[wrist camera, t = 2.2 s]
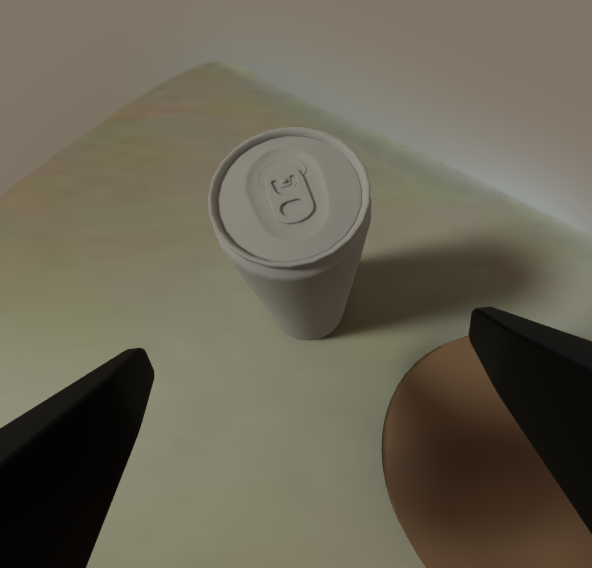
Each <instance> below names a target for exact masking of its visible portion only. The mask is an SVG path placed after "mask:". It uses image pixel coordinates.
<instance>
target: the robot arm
mask: <svg viewBox="0 0 592 568" xmlns="http://www.w3.org/2000/svg"><path fill="white" fill-rule="evenodd" d="M469 340H470V343H471V345H472V347H473V349H474V350H475V352H476V354H477V356H478V358H479V360H480V362H481V364H482V366H483V368H484V370H485V371H486V373H487V375H488V377H489V379H490V381H491V383H492V385H493V386H494V388H495V390H496V392H497V393H498V395H499V397H500V398H501V400H502V401H503V403H504V404H505V406H506V407H507V409H508V410H509V412H510V413H511V415H512V416H513V418H514V419H515V421H516V422H517V424H518V425H519V427H520V428H521V430H522V431H523V433H524V434H525V436H526V437H527V439H528V440H529V442H530V443H531V444H532V446H533V447H534V449H535V450H536V452H537V453H538V455H539V456H540V458H541V459H542V461H543V462H544V464H545V465H546V467H547V468H548V470H549V471H550V473H551V474H552V476H553V477H554V479H555V480H556V482H557V483H558V485H559V486H560V488H561V489H562V491H563V492H564V494H565V495H566V497H567V498H568V500H569V501H570V503H571V504H572V506H573V507H574V509H575V510H576V512H577V513H578V515H579V516H580V518H581V519H582V521H583V522H584V524H585V525H586V527H587V528H588V530H589V531H590V533H591V534H592V342H591V341H589V340H586V339H583V338H580V337H577V336H574V335H571V334H568V333H566V332H563V331H560V330H557V329H554V328H551V327H548V326H545V325H542V324H540V323H537V322H534V321H531V320H528V319H525V318H522V317H519V316H516V315H514V314H511V313H508V312H505V311H502V310H499V309H496V308H493V307H482V308H475V309H474V310H473V311H472V314H471V322H470V329H469ZM153 381H154V370H153V367H152V365H151V363H150V360H149V358H148V356H147V353H146V351H145V350H144V349H142V348H135V349H128V350H125V351H124V352H122V353H121V354H119V355H117V356H116V357H114V358H113V359H111V360H109V361H108V362H106V363H105V364H103V365H101V366H100V367H98V368H97V369H95V370H93V371H92V372H90V373H88V374H87V375H85V376H84V377H82V378H80V379H79V380H77V381H76V382H74V383H72V384H71V385H69V386H68V387H66V388H64V389H63V390H61V391H60V392H58V393H56V394H55V395H53V396H52V397H50V398H48V399H47V400H45V401H44V402H42V403H40V404H39V405H37V406H36V407H34V408H32V409H31V410H29V411H28V412H26V413H24V414H23V415H21V416H20V417H18V418H16V419H15V420H13V421H12V422H10V423H8V424H7V425H5V426H4V427H2V428H0V568H86V566H87V564H88V561H89V559H90V556H91V553H92V551H93V548H94V546H95V543H96V541H97V538H98V536H99V533H100V530H101V528H102V525H103V523H104V520H105V518H106V515H107V513H108V510H109V508H110V505H111V502H112V500H113V497H114V495H115V492H116V490H117V487H118V485H119V482H120V479H121V477H122V474H123V472H124V469H125V467H126V464H127V462H128V459H129V456H130V454H131V451H132V449H133V446H134V444H135V441H136V439H137V436H138V433H139V430H140V427H141V424H142V421H143V417H144V413H145V410H146V406H147V403H148V399H149V395H150V392H151V388H152V385H153Z"/></svg>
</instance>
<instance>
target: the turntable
mask: <svg viewBox="0 0 592 568" xmlns="http://www.w3.org/2000/svg"><path fill="white" fill-rule="evenodd" d="M382 464H383V471H384V477H385V482H386V487H387V490H388V493H389V497H390V500H391V503H392V506H393V508H394V511H395V513H396V515H397V518H398V520H399V522H400V524H401V526H402V528H403V530H404V532H405V533H406V535H407V537H408V539H409V541H410V542H411V544H412V546H413V548H414V549H415V551H416V553H417V555H418V556H419V558H420V559H421V561H422V562H423V564H424V565H425V566H426V568H592V534H591V533H590V531H589V530H588V528H587V527H586V525H585V524H584V522H583V521H582V519H581V518H580V516H579V515H578V513H577V512H576V510H575V509H574V507H573V506H572V504H571V503H570V501H569V500H568V498H567V497H566V495H565V494H564V492H563V491H562V489H561V488H560V486H559V485H558V483H557V482H556V480H555V479H554V477H553V476H552V474H551V473H550V471H549V470H548V468H547V467H546V465H545V464H544V462H543V461H542V459H541V458H540V456H539V455H538V453H537V452H536V450H535V449H534V447H533V446H532V444H531V443H530V442H529V440H528V439H527V437H526V436H525V434H524V433H523V431H522V430H521V428H520V427H519V425H518V424H517V422H516V421H515V419H514V418H513V416H512V415H511V413H510V412H509V410H508V409H507V407H506V406H505V404H504V403H503V401H502V400H501V398H500V397H499V395H498V393H497V392H496V390H495V388H494V386H493V385H492V383H491V381H490V379H489V377H488V375H487V373H486V371H485V370H484V368H483V366H482V364H481V362H480V360H479V358H478V356H477V354H476V352H475V350H474V349H473V347H472V345H471V343H470V340H469V336H466V337H463V338H460V339H458V340H455V341H452V342H450V343H448V344H445V345H443V346H440V347H438V348H436V349H435V350H433V351H431V352H430V353H428V354H426V355H425V356H424V357H423V358H421V359H420V360H419V361H418V362H417V363H415V364H414V365H413V367H412V368H411V369H410V370H409V371H408V372H407V373H406V374H405V376H404V377H403V379H402V380H401V382H400V383H399V385H398V386H397V388H396V390H395V392H394V394H393V396H392V398H391V400H390V403H389V406H388V409H387V412H386V416H385V421H384V426H383V433H382Z"/></svg>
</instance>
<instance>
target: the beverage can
mask: <svg viewBox="0 0 592 568" xmlns="http://www.w3.org/2000/svg"><path fill="white" fill-rule="evenodd" d="M208 202H209V215H210V218H211V220H212V223H213V226H214V231H215V234H216V236H217V239H218V241H219V243H220V246H221V248H222V250H223V251H224V252H225V254H226V255H227V257H228V258H229V259H230V261H231V262H232V264H233V265H234V266H235V268H236V269H237V270H238V272H239V273H240V274H241V276H242V277H243V278H244V280H245V281H246V282H247V284H248V285H249V286H250V287H251V289H252V290H253V291H254V293H255V294H256V295H257V297H258V298H259V299H260V301H261V302H262V303H263V305H264V306H265V308H266V309H267V311H268V312H269V313H270V315H271V316H272V318H273V319H274V320H275V322H276V323H277V324H278V325H279V326H280V328H281V329H282V330H284V331H285V332H286V333H287V334H289V335H290V336H292V337H295V338H297V339H301V340H314V339H320V338H322V337H324V336H326V335H328V334H330V333H331V332H332V331H333V330H334V329H335V328H336V327H337V326H338V324H339V323H340V321H341V319H342V317H343V314H344V311H345V307H346V303H347V300H348V297H349V294H350V291H351V288H352V285H353V282H354V279H355V275H356V272H357V268H358V265H359V261H360V258H361V254H362V250H363V247H364V243H365V239H366V236H367V232H368V228H369V225H370V221H371V197H370V182H369V179H368V175H367V172H366V168H365V166H364V165H363V163H362V162H361V160H360V159H359V157H358V156H357V154H356V153H355V152H354V151H353V150H352V149H351V148H350V147H349V146H347V145H346V144H345V143H344V142H343V141H342V140H340V139H338V138H336V137H334V136H332V135H330V134H328V133H326V132H323V131H319V130H314V129H310V128H306V127H285V128H280V129H274V130H269V131H266V132H263V133H261V134H258V135H256V136H254V137H251V138H249V139H247V140H246V141H245V142H243V143H242V144H240V145H239V146H237V147H236V148H235V149H233V150H232V151H231V152H230V154H229V155H228V156H227V157H226V158H225V159H224V160H223V161H222V162H221V164H220V165H219V167H218V169H217V171H216V173H215V175H214V177H213V179H212V182H211V186H210V191H209V196H208Z"/></svg>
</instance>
